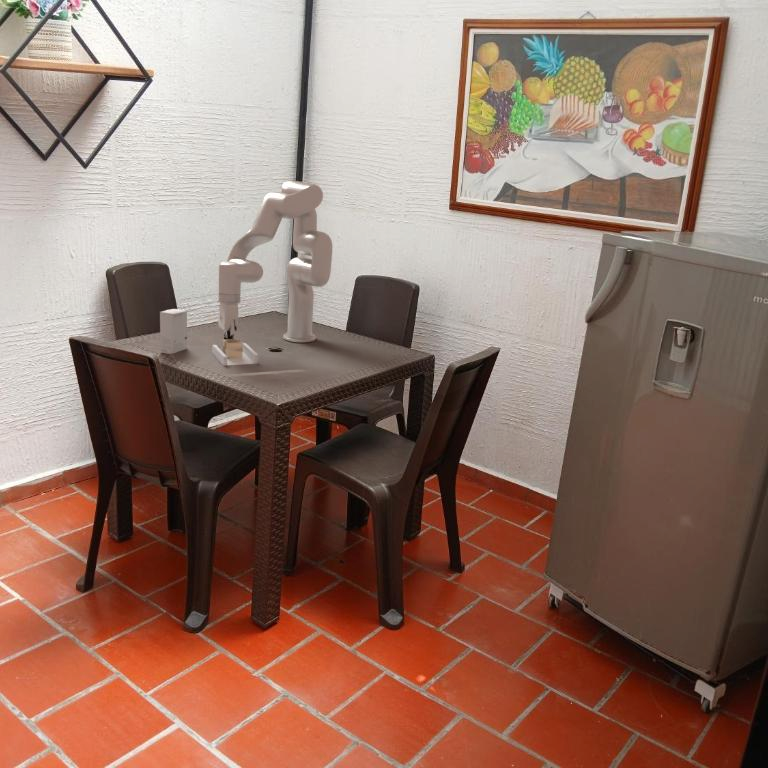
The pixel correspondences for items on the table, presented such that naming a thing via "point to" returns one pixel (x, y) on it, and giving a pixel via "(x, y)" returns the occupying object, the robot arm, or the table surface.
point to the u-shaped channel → (247, 358)
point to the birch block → (232, 348)
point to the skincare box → (173, 331)
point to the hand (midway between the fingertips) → (228, 348)
